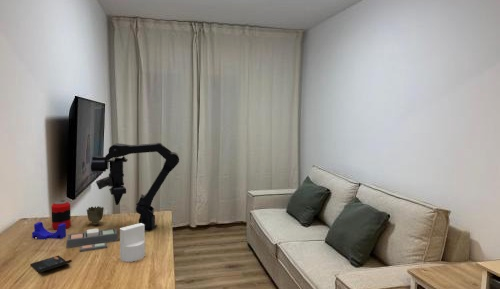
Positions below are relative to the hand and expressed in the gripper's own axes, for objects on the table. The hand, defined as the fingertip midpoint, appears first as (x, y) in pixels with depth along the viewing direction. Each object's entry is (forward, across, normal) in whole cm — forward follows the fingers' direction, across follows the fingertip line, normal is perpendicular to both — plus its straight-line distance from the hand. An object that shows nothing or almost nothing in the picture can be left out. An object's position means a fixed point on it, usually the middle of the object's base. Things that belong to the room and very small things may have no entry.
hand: (116, 204), depth 152 cm
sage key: (+11, +9, -5) cm, 15 cm away
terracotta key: (+11, +9, -17) cm, 22 cm away
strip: (+12, +17, -10) cm, 24 cm away
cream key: (+10, +9, -11) cm, 17 cm away
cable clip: (+12, -1, -27) cm, 30 cm away
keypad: (+12, +9, -10) cm, 19 cm away
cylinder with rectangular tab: (+12, +31, +3) cm, 33 cm away
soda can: (+12, -13, -23) cm, 29 cm away
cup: (+12, -11, -9) cm, 19 cm away
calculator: (+13, +28, -24) cm, 39 cm away
